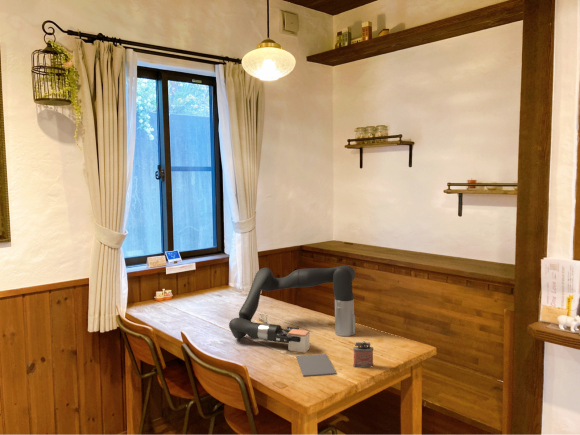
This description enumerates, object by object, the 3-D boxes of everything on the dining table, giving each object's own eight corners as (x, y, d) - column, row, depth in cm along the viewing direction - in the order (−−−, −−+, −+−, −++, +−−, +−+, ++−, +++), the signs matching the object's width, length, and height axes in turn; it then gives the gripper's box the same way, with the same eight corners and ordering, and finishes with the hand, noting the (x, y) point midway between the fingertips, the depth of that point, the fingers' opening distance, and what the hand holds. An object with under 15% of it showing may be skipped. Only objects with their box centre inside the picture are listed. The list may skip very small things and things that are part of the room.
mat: (326, 354, 191) (326, 353, 191) (336, 374, 172) (336, 372, 172) (296, 357, 189) (296, 355, 189) (303, 376, 171) (303, 375, 170)
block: (288, 350, 197) (288, 332, 196) (293, 346, 202) (292, 328, 201) (305, 352, 194) (304, 335, 193) (309, 348, 199) (309, 330, 198)
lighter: (372, 363, 181) (372, 340, 180) (374, 367, 178) (374, 343, 177) (352, 364, 181) (352, 340, 180) (354, 368, 177) (354, 343, 177)
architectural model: (261, 330, 224) (261, 316, 224) (255, 327, 230) (254, 313, 230) (267, 329, 226) (267, 315, 226) (260, 325, 232) (260, 311, 231)
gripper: (276, 335, 210) (309, 339, 204) (263, 345, 197) (297, 350, 190) (276, 319, 209) (308, 323, 203) (262, 329, 196) (297, 333, 190)
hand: (303, 336), depth 197 cm, fingers open, 7 cm apart
